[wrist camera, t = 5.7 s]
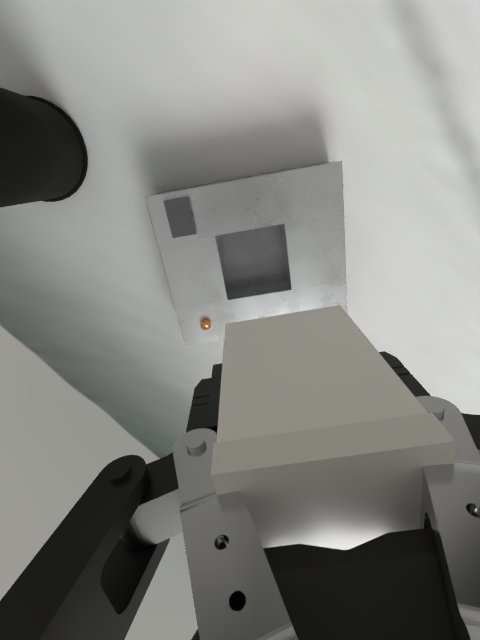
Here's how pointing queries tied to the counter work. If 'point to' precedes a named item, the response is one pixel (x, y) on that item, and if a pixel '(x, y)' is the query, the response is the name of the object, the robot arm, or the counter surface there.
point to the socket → (252, 247)
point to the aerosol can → (38, 151)
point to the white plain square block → (320, 432)
